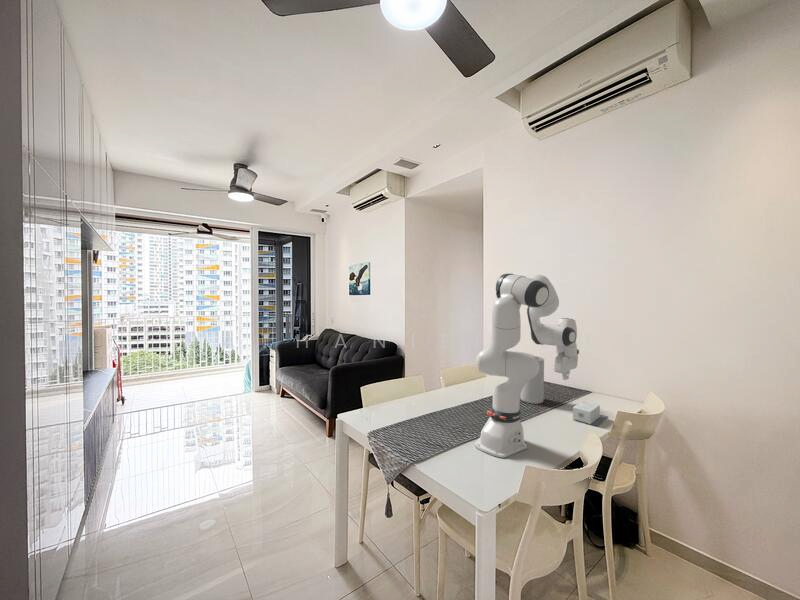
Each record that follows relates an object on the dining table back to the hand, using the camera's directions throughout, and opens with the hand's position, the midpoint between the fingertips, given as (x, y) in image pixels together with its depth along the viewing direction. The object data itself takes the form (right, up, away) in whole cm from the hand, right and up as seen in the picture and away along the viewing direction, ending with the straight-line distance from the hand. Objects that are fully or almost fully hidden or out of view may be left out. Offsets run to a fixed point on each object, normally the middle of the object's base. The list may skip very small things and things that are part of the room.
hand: (565, 379), depth 153 cm
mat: (+16, -21, +5) cm, 27 cm away
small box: (+8, -18, 0) cm, 19 cm away
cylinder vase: (-4, -20, +31) cm, 37 cm away
